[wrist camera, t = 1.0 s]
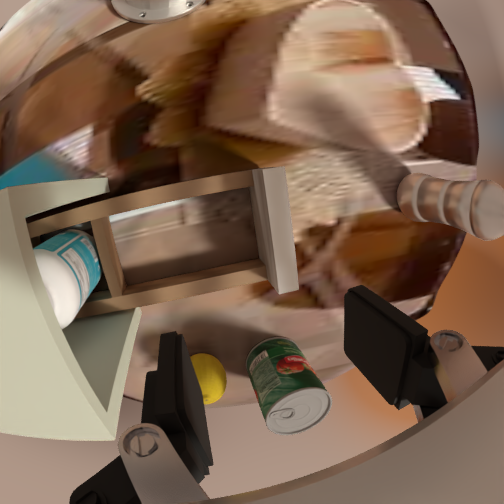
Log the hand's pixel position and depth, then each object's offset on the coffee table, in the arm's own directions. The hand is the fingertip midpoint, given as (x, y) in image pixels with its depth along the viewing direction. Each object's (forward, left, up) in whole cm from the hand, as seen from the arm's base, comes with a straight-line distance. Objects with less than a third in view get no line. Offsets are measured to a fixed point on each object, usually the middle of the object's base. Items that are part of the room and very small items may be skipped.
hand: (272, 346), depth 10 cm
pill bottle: (-9, -14, -23) cm, 28 cm away
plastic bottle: (+16, +22, -23) cm, 36 cm away
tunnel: (-9, -14, -23) cm, 28 cm away
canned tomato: (+19, -8, -23) cm, 30 cm away
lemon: (+11, -14, -23) cm, 28 cm away
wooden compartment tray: (-5, -8, -22) cm, 24 cm away
